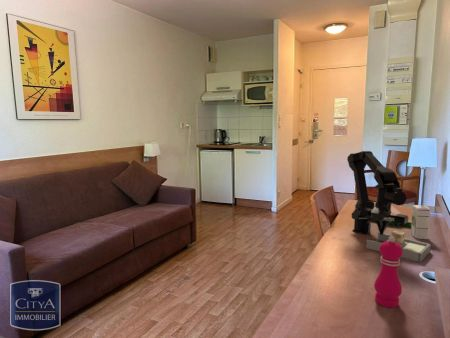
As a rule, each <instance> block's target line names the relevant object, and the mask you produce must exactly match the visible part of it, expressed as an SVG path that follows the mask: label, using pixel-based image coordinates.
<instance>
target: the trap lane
mask: <svg viewBox="0 0 450 338" xmlns="http://www.w3.org/2000/svg"><path fill="white" fill-rule="evenodd" d="M389 237H391V234H388V233H385V232H384V233H383V235H380V232H379V231H378V232H377V240H371V239H366V243H365V244H366V249H369V250H374V251H377V252H380V251H379V248H380V245H381V244H382V243H383V242H385V241H389V240H388V238H389ZM399 245H400V246H401V247H402V250H403V254H402V256H401V257H400V258H402V259H407V260H411V261H415V262H418V263H422V262H423V260H424V259H425V258H426V257H427V256H428V255H429V254H430V253H431V243H427V242H423V241H419V240H414V239H409V238H406V237H404V242H403V243H402V244H399Z"/></svg>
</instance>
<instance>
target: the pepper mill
mask: <svg viewBox="0 0 450 338" xmlns="http://www.w3.org/2000/svg"><path fill="white" fill-rule="evenodd" d="M388 240H389V241H385V242H383V243H382V244H381V245H380V248H379V251H378V252H379V253H380V255H381V256H380V263H381V269H380V271H379V274H378V275H377V277H376V279H375V280H374V285H373V288H374V290H375V296H374V300H375V302H376V303H377V304H378V305H380V306H383V307H386V308H397V307H398V306H399V305H400V304H399V302H400V298H399V297H400V296H401V295H402V293H403V287H402V284H401V281H400V279H399V274H398V268H399V266H400V265H401V263H400V261H401V258H402V257H401V256H402V254H403V250H402V247H401V246H400V245H399V244H398V243H396V242H395V238H394V237H392V236H391V237H389V238H388Z"/></svg>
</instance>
